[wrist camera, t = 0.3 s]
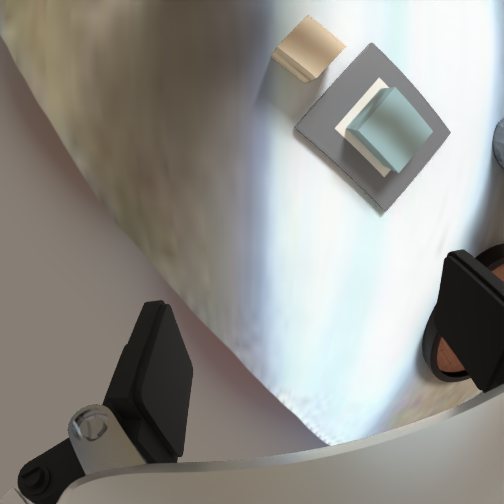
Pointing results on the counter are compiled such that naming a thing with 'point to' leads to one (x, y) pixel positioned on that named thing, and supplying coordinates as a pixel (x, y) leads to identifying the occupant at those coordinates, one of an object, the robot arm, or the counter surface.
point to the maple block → (308, 50)
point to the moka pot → (499, 142)
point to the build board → (348, 107)
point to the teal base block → (390, 128)
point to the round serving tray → (434, 346)
